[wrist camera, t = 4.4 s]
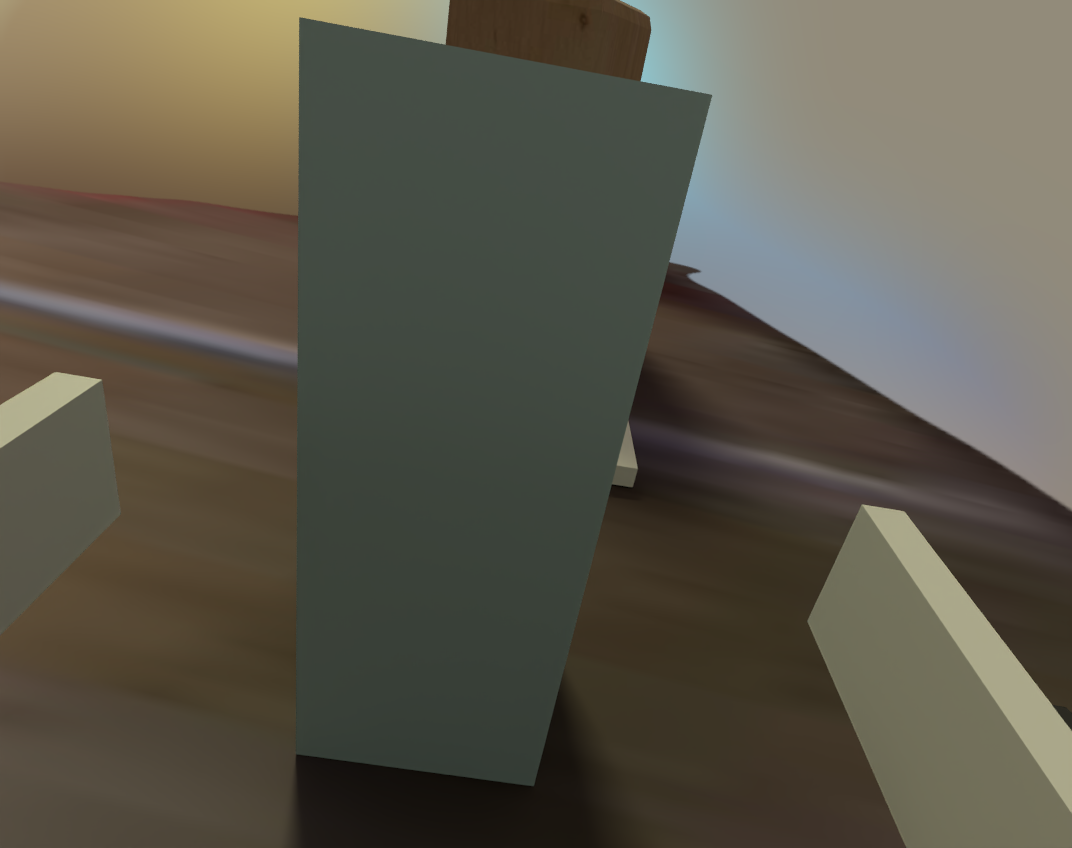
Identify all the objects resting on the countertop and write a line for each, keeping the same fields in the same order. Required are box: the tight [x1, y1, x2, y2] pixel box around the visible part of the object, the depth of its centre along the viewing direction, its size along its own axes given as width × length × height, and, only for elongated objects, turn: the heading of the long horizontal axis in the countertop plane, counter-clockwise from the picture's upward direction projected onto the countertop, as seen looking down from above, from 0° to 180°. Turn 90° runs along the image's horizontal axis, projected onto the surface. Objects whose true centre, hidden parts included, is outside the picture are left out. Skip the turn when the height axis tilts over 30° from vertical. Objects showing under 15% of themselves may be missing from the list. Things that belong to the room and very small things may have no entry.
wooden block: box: [446, 0, 651, 81], centre depth 46 cm, size 10×10×20 cm
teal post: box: [296, 18, 712, 786], centre depth 16 cm, size 6×6×16 cm
